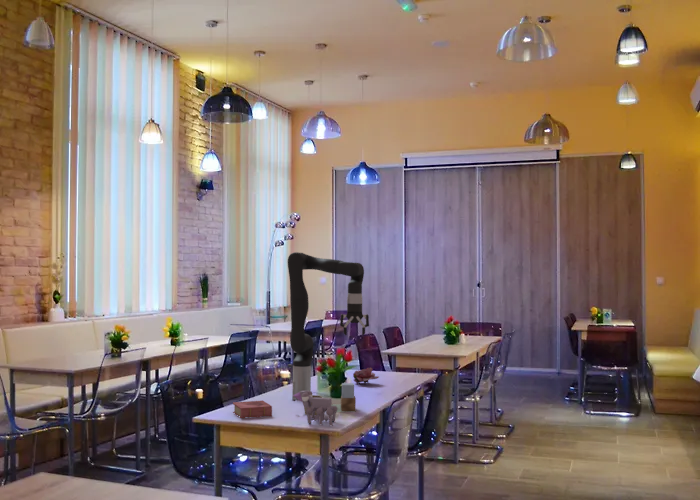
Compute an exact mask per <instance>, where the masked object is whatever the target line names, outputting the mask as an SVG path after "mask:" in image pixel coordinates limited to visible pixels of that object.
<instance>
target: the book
mask: <svg viewBox="0 0 700 500" xmlns="http://www.w3.org/2000/svg"><path fill="white" fill-rule="evenodd" d="M232 405H233V406H234V407H233V408H234V410H233V411H232V413H233V414H234V413H235V414H236V415H235V414H234V415H235V416H237V415H238V416H240V418H239V419H241V418H243V419H246V418H245V417H256V418H261V417H260V416H269V417H272V416H273V406H272V405H271V404H269V403H268V402H266V401H264V400H250V401H237V402H235V401H233V402H232ZM238 416H237V417H238Z"/></svg>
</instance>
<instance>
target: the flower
mask: <svg viewBox="0 0 700 500" xmlns="http://www.w3.org/2000/svg"><path fill="white" fill-rule="evenodd" d="M352 374H353V377H352V378H353V381H354V382H355V384H359V385H361V383H362V382H363V383H364V385H366V383H367V384H369V381H370V380H378V379H379V378H380V376H378V375H377V376H376V373H374V372H373V368H372V367H367V368H363V369H361V370H359V369H358V370H355V371H354V373H352Z"/></svg>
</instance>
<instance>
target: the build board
mask: <svg viewBox="0 0 700 500" xmlns="http://www.w3.org/2000/svg"><path fill="white" fill-rule="evenodd" d="M332 406H336V407H337V412H336V413H357V410H356V409H355V411H341V403H339V404H338V403H337V404H336V403H333V404H332Z"/></svg>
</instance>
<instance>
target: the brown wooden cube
mask: <svg viewBox="0 0 700 500" xmlns="http://www.w3.org/2000/svg"><path fill="white" fill-rule="evenodd" d="M356 400H357V399H356V395H354V398H342V395H341V396H340V404H341V411H355V410H356V402H357V401H356Z"/></svg>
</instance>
